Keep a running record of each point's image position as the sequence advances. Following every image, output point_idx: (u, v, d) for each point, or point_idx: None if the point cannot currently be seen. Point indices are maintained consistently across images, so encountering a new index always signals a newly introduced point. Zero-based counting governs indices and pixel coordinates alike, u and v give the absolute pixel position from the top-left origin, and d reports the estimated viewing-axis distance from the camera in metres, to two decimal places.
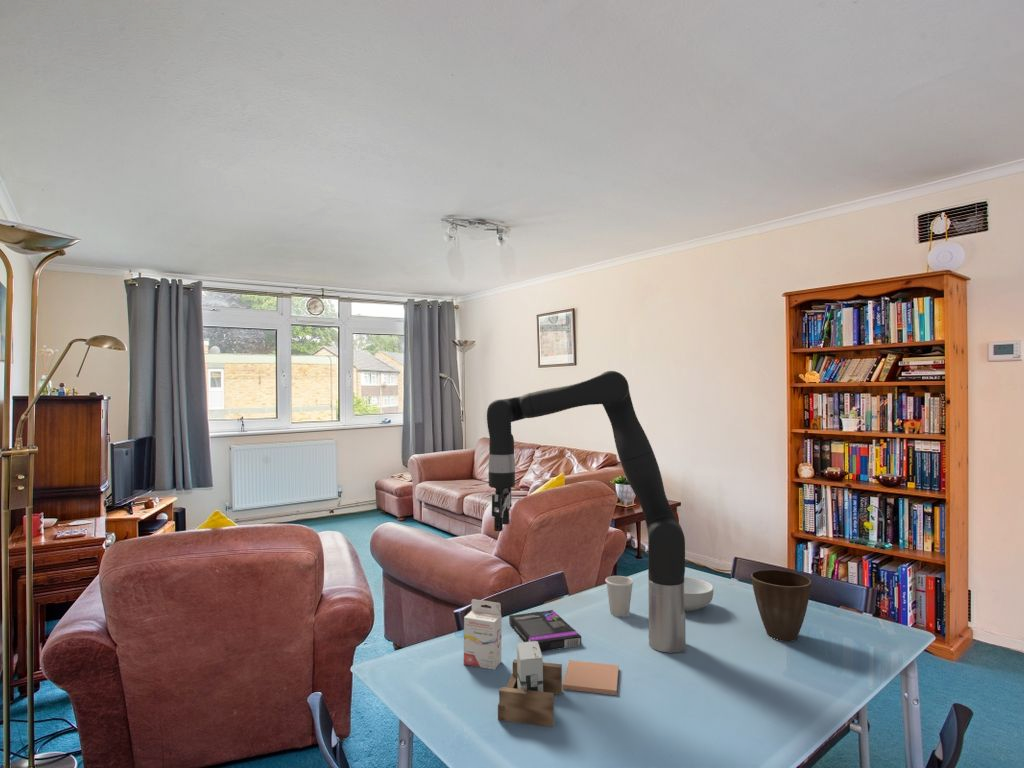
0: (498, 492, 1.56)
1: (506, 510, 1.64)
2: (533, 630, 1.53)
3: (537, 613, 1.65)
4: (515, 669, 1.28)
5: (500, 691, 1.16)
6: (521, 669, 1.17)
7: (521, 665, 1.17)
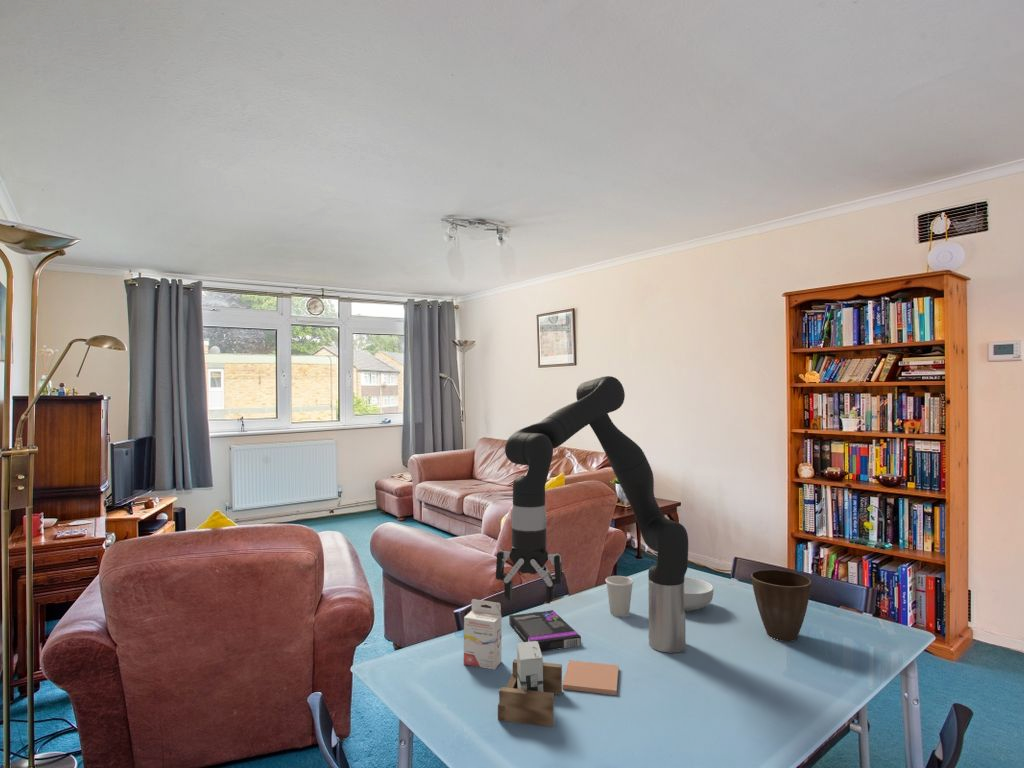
0: (545, 553, 1.21)
1: (510, 580, 1.23)
2: (533, 629, 1.53)
3: (537, 613, 1.65)
4: (515, 669, 1.28)
5: (500, 691, 1.16)
6: (521, 669, 1.17)
7: (521, 665, 1.17)
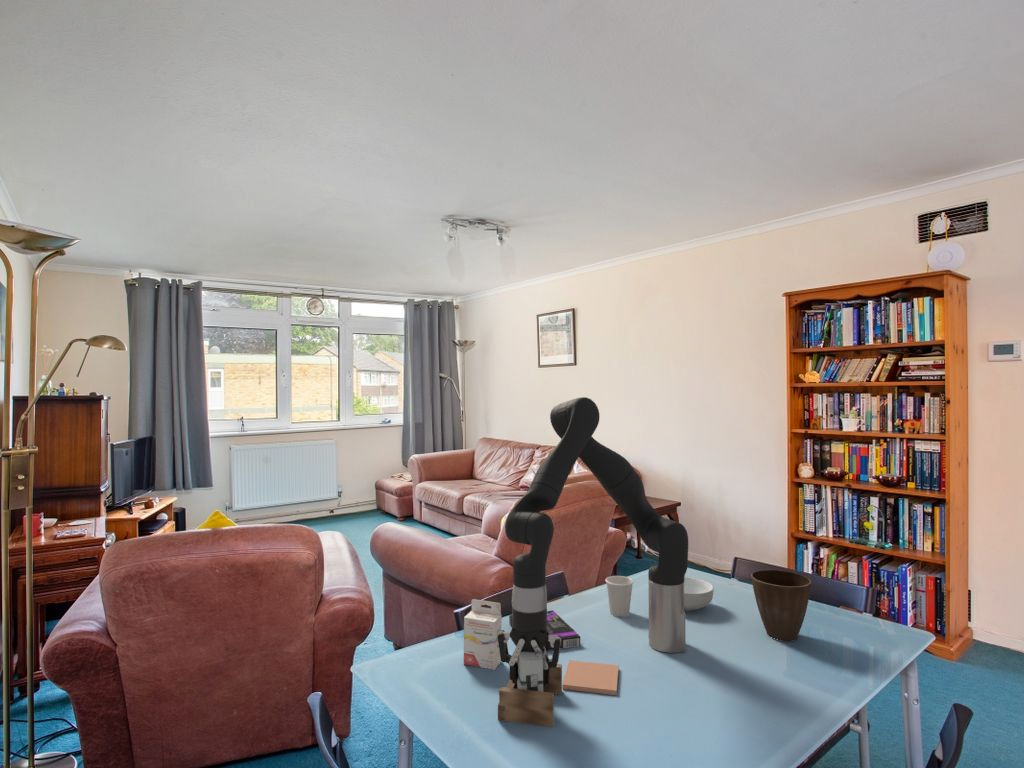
0: (547, 633, 1.21)
1: None
2: None
3: None
4: None
5: (500, 691, 1.16)
6: (521, 669, 1.17)
7: (521, 665, 1.17)
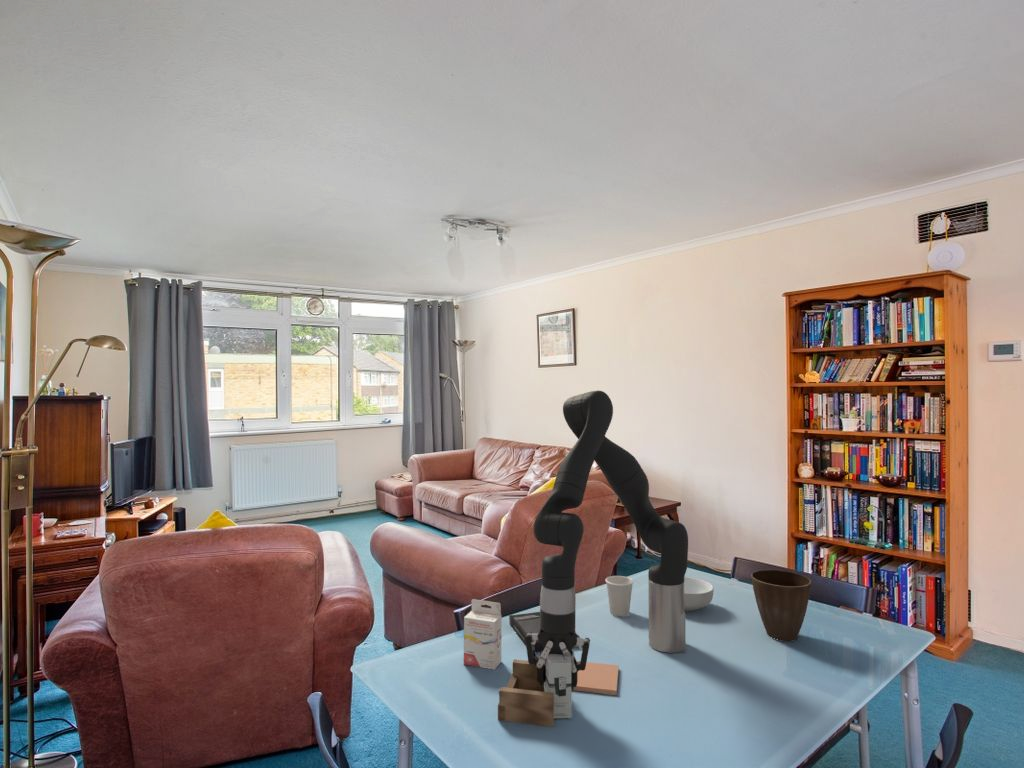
0: (575, 636, 1.20)
1: (543, 663, 1.21)
2: (532, 630, 1.53)
3: (537, 613, 1.65)
4: (515, 669, 1.28)
5: (500, 691, 1.16)
6: (549, 671, 1.16)
7: (550, 667, 1.16)
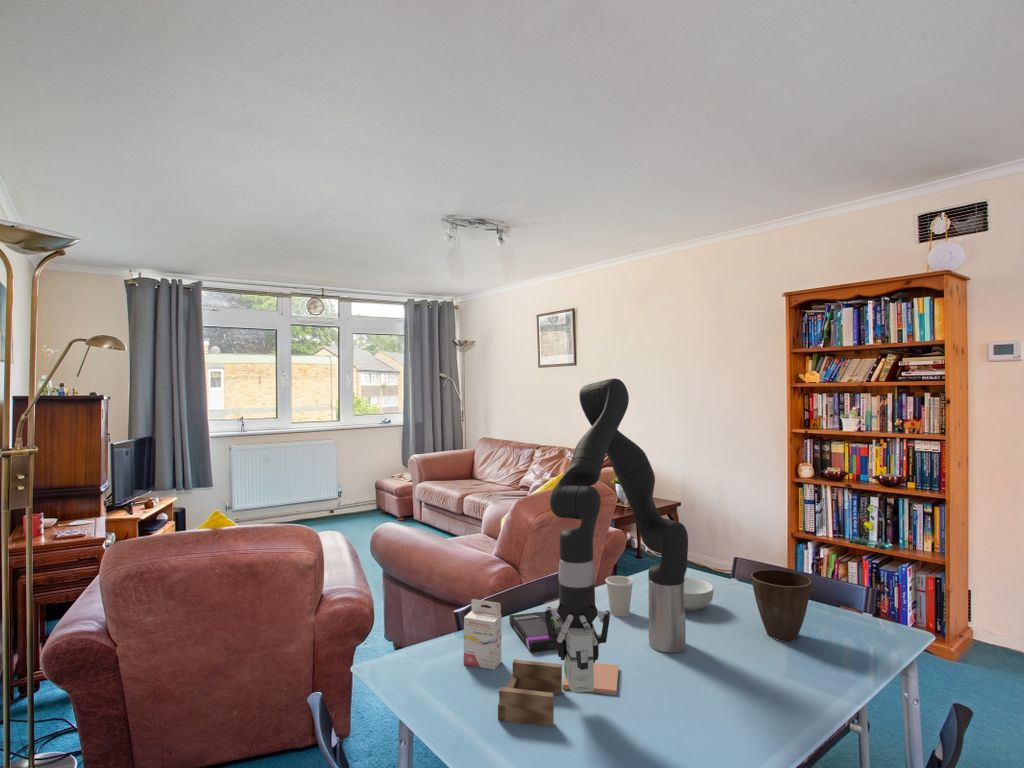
0: (595, 609, 1.19)
1: None
2: (532, 630, 1.53)
3: (537, 613, 1.65)
4: (515, 669, 1.28)
5: (500, 691, 1.16)
6: (571, 645, 1.15)
7: (571, 641, 1.15)
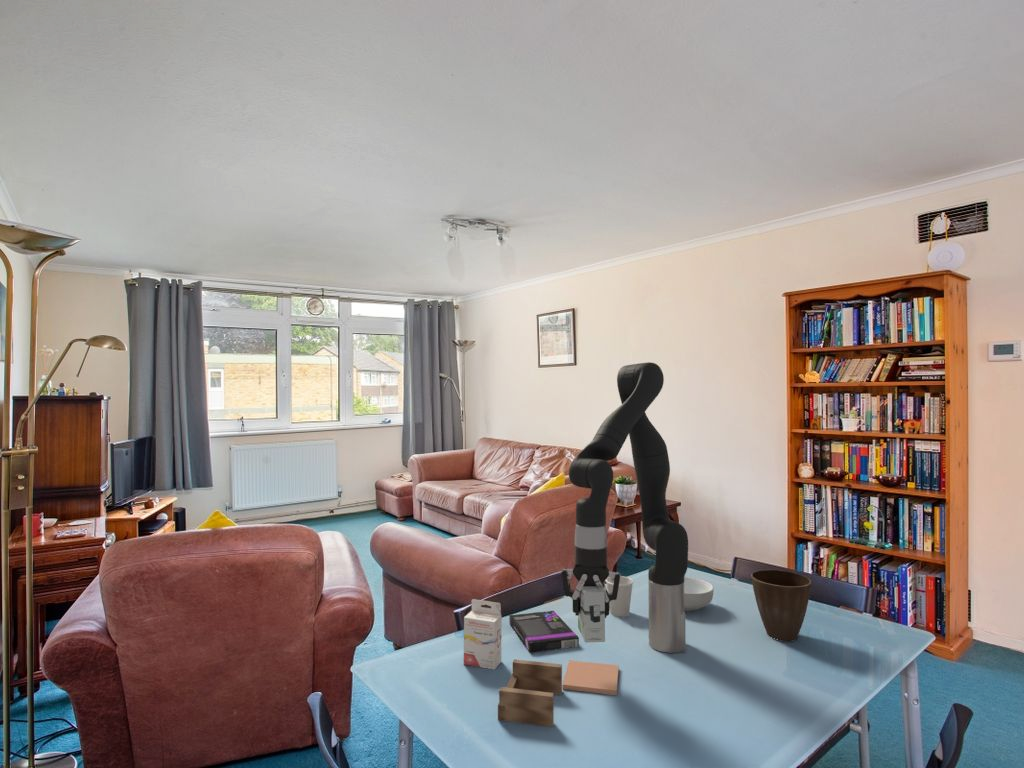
0: None
1: None
2: (531, 630, 1.53)
3: (537, 614, 1.65)
4: (515, 669, 1.28)
5: (500, 691, 1.16)
6: (585, 600, 1.29)
7: (585, 596, 1.29)
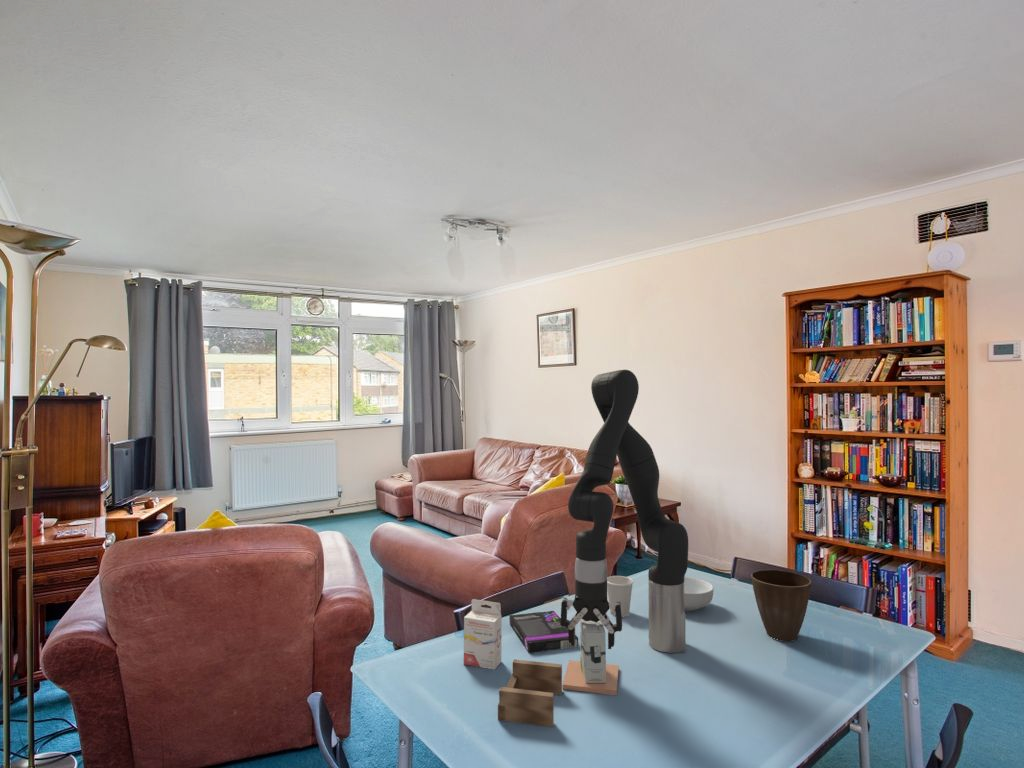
0: None
1: (574, 626, 1.34)
2: (531, 630, 1.53)
3: (538, 614, 1.65)
4: (515, 669, 1.28)
5: (500, 691, 1.16)
6: (585, 640, 1.29)
7: (585, 637, 1.29)
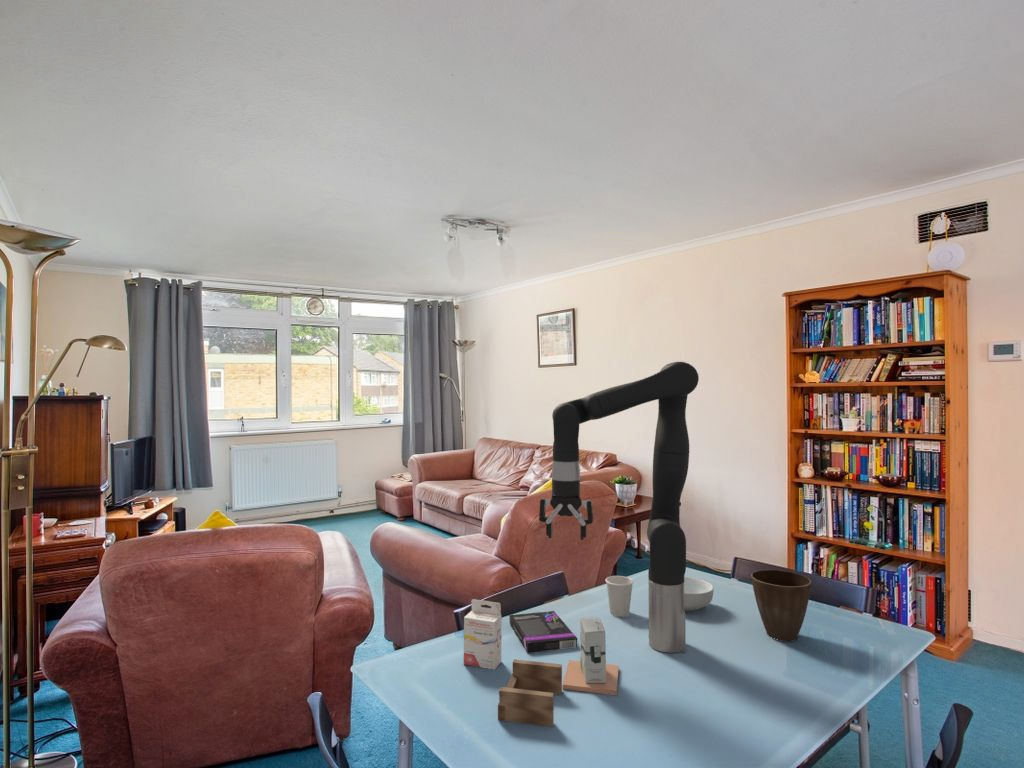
0: (579, 499, 1.51)
1: None
2: (530, 630, 1.53)
3: (538, 614, 1.65)
4: (515, 669, 1.28)
5: (500, 691, 1.16)
6: (585, 640, 1.29)
7: (585, 637, 1.29)
